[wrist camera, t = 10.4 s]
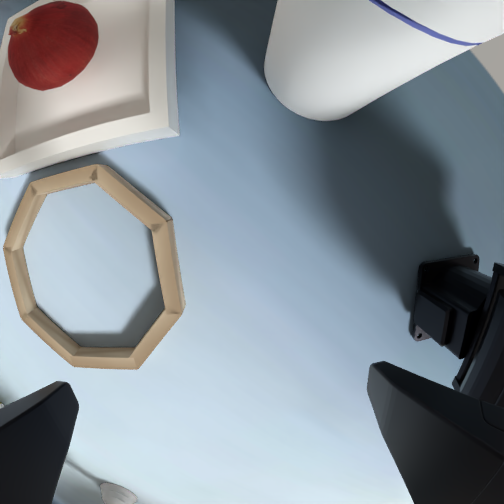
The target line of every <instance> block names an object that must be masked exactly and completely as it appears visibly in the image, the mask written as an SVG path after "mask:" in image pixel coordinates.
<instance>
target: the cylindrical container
mask: <svg viewBox="0 0 504 504" xmlns="http://www.w3.org/2000/svg"><path fill="white" fill-rule="evenodd" d="M502 34H504V0H278V1H277V5H276V10H275V14H274V19H273V23H272V28H271V33H270V37H269V42H268V47H267V51H266V56H265V62H264V72H265V77H266V81H267V84H268V86H269V88H270V89H271V91H272V93H273V94H274V95H275V97H276V98H277V99H278V100H279V101H280V102H281V103H282V104H283V105H284V106H285V107H287V108H288V109H289V110H291V111H293V112H294V113H296V114H298V115H300V116H303V117H306V118H308V119H313V120H318V121H332V120H339V119H341V118H344V117H347V116H349V115H350V114H352V113H354V112H355V111H357V110H359V109H360V108H362V107H364V106H365V105H367V104H369V103H371V102H372V101H374V100H376V99H377V98H379V97H381V96H383V95H384V94H386V93H388V92H390V91H392V90H393V89H395V88H397V87H399V86H400V85H402V84H404V83H406V82H408V81H409V80H411V79H413V78H415V77H417V76H418V75H420V74H422V73H424V72H426V71H428V70H430V69H431V68H433V67H435V66H437V65H439V64H441V63H443V62H445V61H447V60H449V59H451V58H453V57H455V56H457V55H459V54H461V53H463V52H465V51H467V50H469V49H471V48H473V47H475V46H477V45H479V44H481V43H484V42H486V41H488V40H490V39H492V38H494V37H497V36H499V35H502Z"/></svg>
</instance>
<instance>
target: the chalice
mask: <svg viewBox="0 0 504 504" xmlns="http://www.w3.org/2000/svg"><path fill="white" fill-rule="evenodd" d="M100 488H101V495H102V500H103V502H104V503H105V504H133V503H135V502H136V501H137V497H136V495H135V494H133V493H132V492H131V491H129V490H127V489H125V488H123V487H121V486H118V485H115V484H111V483H102V484H101V485H100Z"/></svg>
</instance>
